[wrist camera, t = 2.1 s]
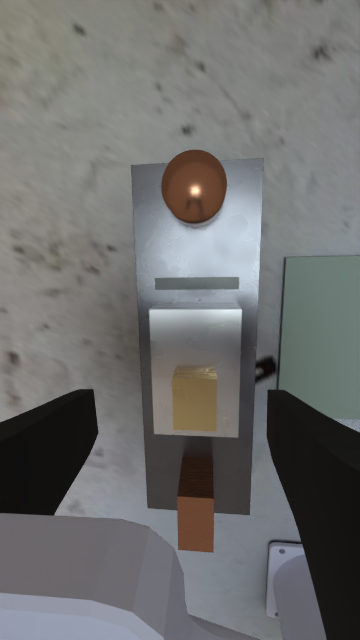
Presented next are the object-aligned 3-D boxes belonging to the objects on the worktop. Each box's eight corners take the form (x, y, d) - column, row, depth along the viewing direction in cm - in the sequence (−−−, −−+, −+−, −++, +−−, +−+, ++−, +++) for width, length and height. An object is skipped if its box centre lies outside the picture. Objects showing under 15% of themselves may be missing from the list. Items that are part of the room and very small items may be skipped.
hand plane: (250, 181, 19) (278, 130, 11) (241, 467, 23) (257, 564, 16) (148, 186, 20) (111, 140, 12) (158, 463, 24) (136, 554, 17)
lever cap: (236, 302, 16) (244, 312, 13) (234, 413, 18) (240, 448, 14) (157, 302, 17) (145, 312, 13) (161, 410, 18) (150, 444, 15)
